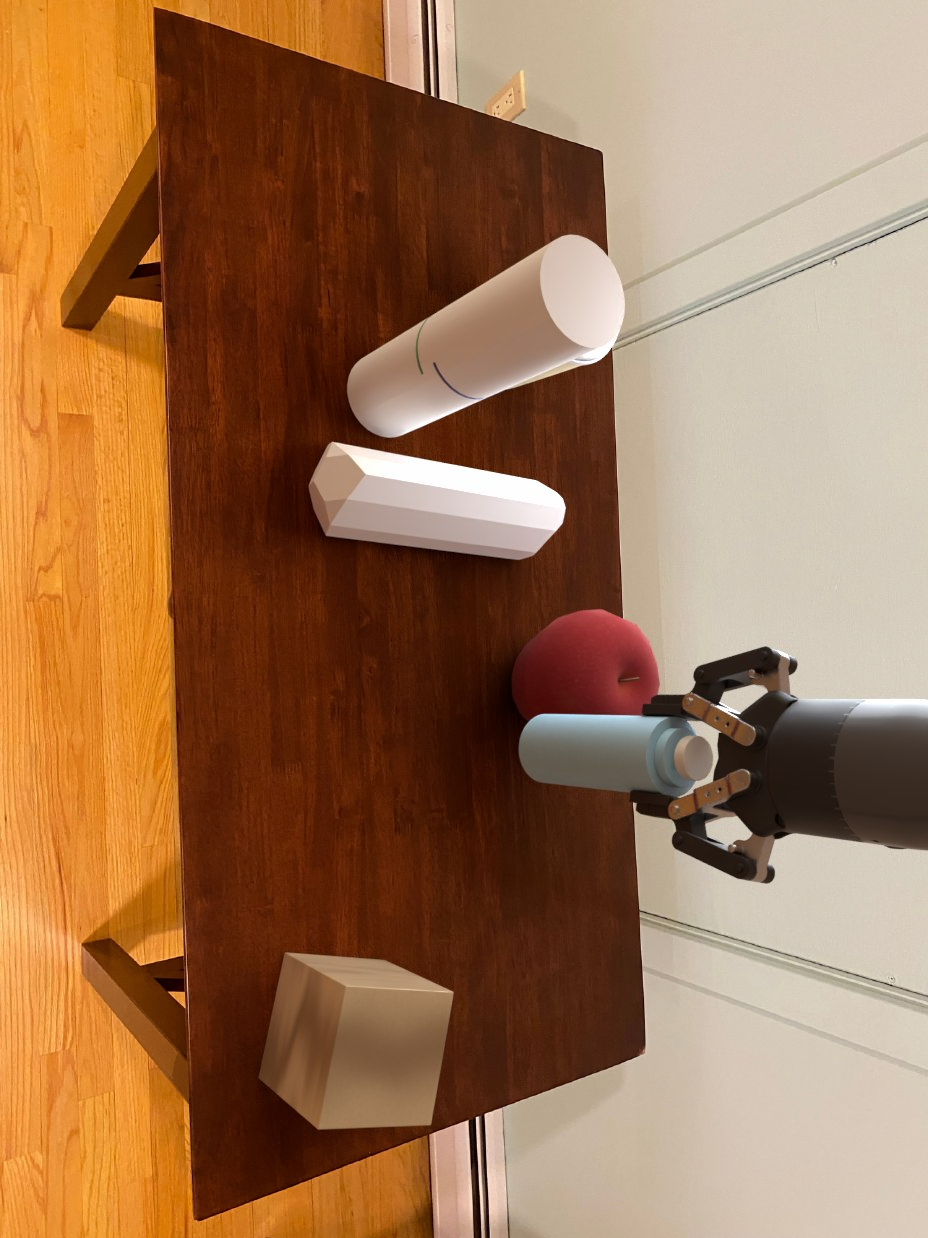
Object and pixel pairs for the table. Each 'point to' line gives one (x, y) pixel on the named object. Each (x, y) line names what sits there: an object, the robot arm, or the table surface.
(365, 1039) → the cube
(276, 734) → the table surface
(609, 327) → the cylindrical container
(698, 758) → the bottle
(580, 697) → the apple
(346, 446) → the crystal
